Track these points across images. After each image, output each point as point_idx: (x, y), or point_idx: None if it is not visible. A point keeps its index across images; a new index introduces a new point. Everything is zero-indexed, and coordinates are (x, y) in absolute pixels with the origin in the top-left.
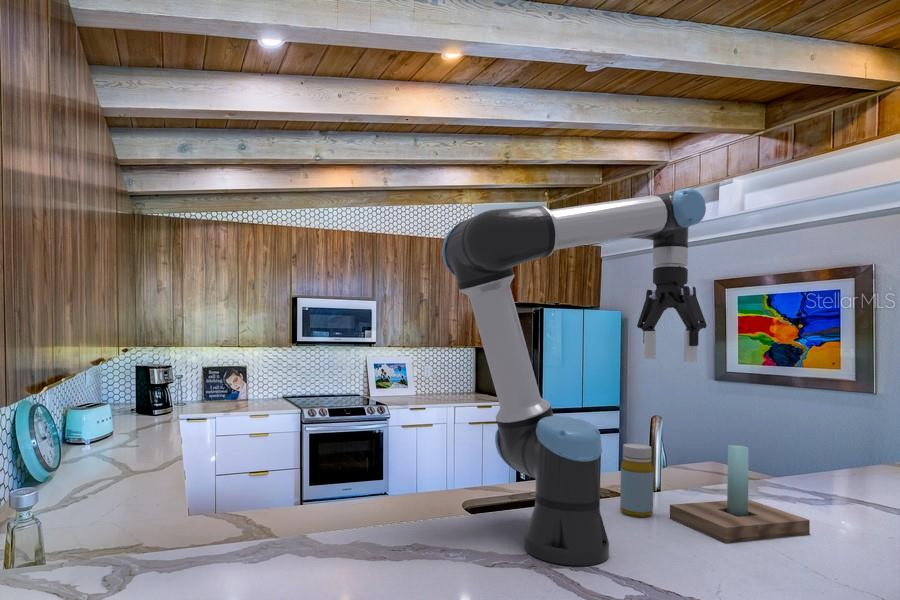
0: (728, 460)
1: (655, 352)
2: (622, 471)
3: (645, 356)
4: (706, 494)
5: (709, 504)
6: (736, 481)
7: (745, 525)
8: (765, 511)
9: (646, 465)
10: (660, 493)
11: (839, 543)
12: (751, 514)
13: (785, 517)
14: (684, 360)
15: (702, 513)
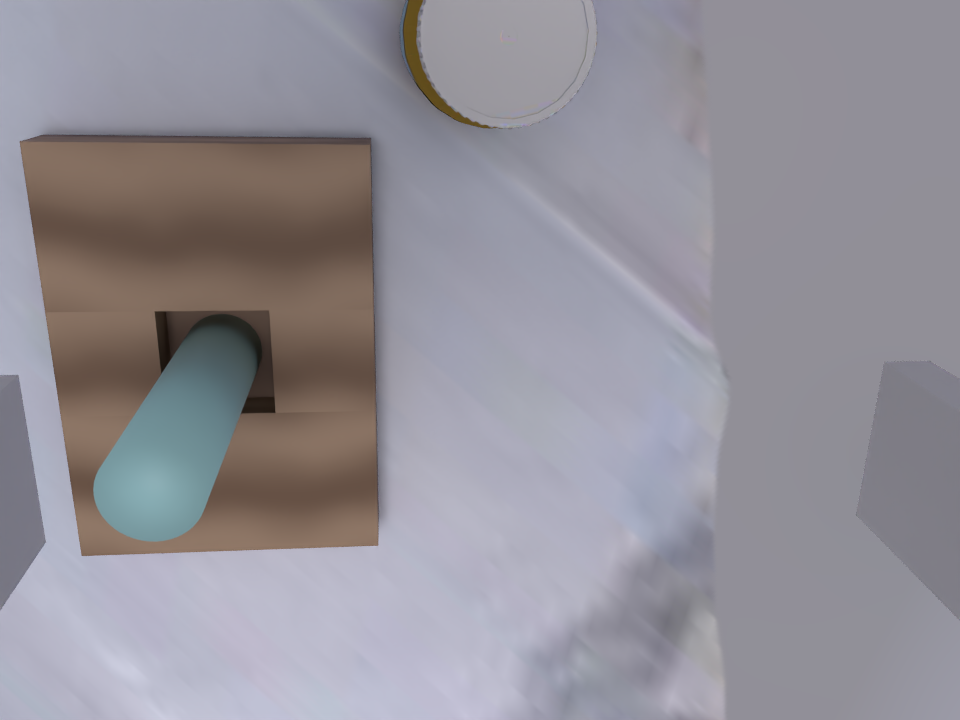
0: (183, 414)
1: (905, 564)
2: None
3: (911, 370)
4: (626, 541)
5: (337, 329)
6: (157, 384)
7: (41, 252)
8: None
9: (414, 38)
10: (698, 363)
11: None
12: None
13: None
14: (6, 379)
15: (219, 195)
